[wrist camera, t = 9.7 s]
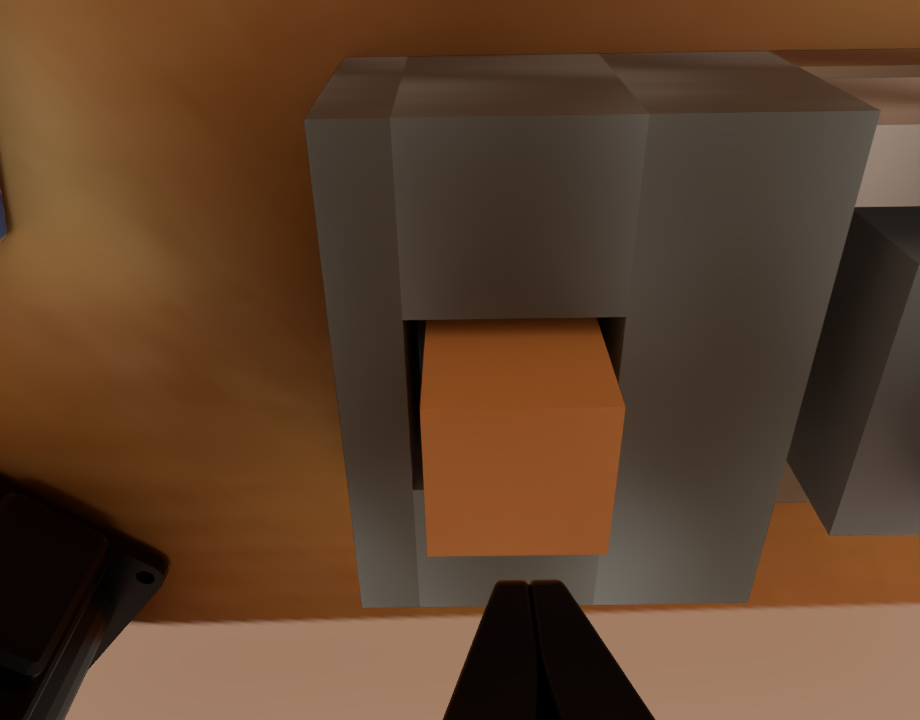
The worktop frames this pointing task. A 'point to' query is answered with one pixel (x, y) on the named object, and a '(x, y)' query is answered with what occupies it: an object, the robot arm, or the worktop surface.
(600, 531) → the button
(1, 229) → the medicine box
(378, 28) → the worktop surface
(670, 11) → the worktop surface
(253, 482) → the worktop surface
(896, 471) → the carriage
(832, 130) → the rail
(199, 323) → the worktop surface
